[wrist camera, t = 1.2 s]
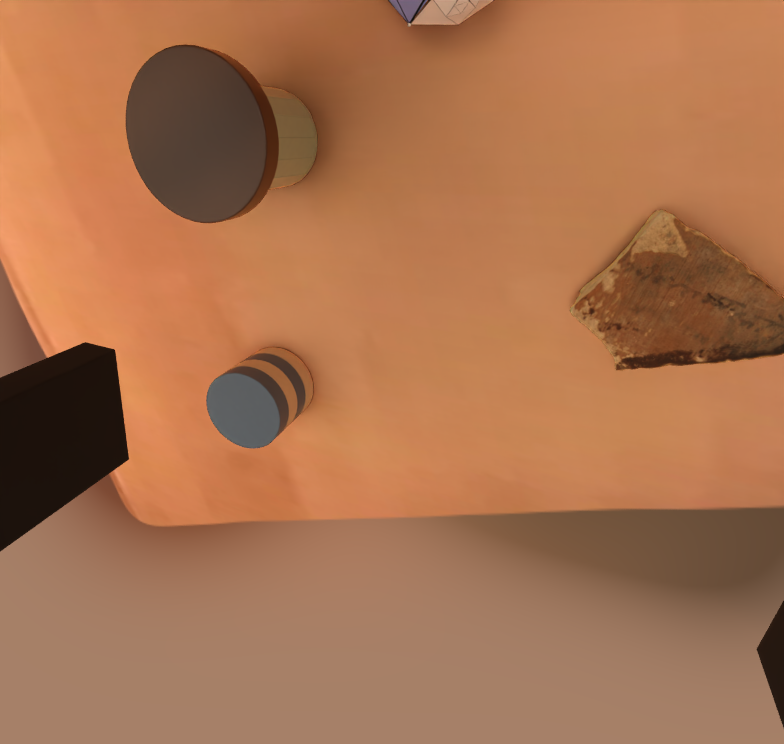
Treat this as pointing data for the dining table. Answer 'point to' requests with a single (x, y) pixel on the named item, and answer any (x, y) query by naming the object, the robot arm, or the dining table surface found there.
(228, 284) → the dining table surface
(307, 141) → the plastic cup
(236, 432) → the chip stack
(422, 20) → the geometric puzzle
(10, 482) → the robot arm
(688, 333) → the shard
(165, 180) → the walnut chip
